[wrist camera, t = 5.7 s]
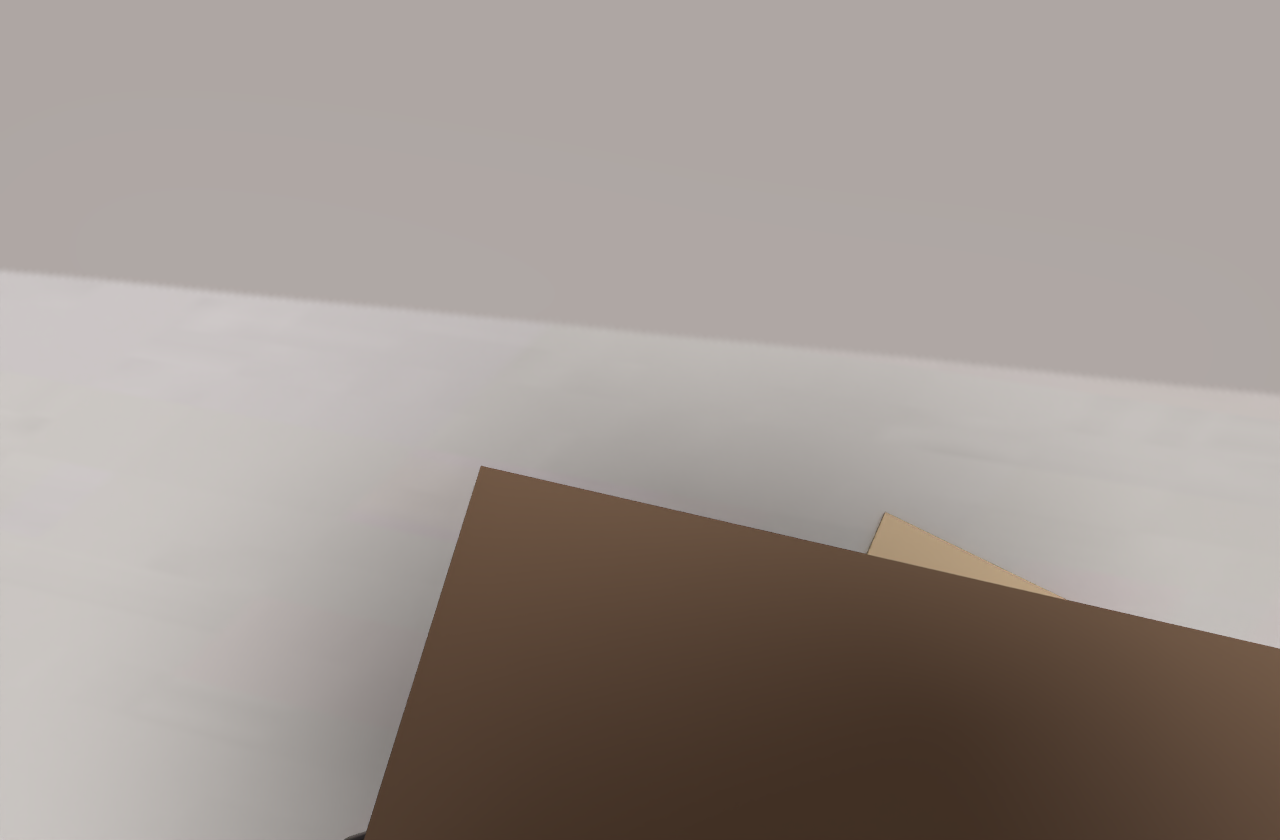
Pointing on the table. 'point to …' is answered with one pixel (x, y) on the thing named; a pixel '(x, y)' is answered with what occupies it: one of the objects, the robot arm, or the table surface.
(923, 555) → the kraft envelope
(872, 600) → the walnut block
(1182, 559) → the table surface
